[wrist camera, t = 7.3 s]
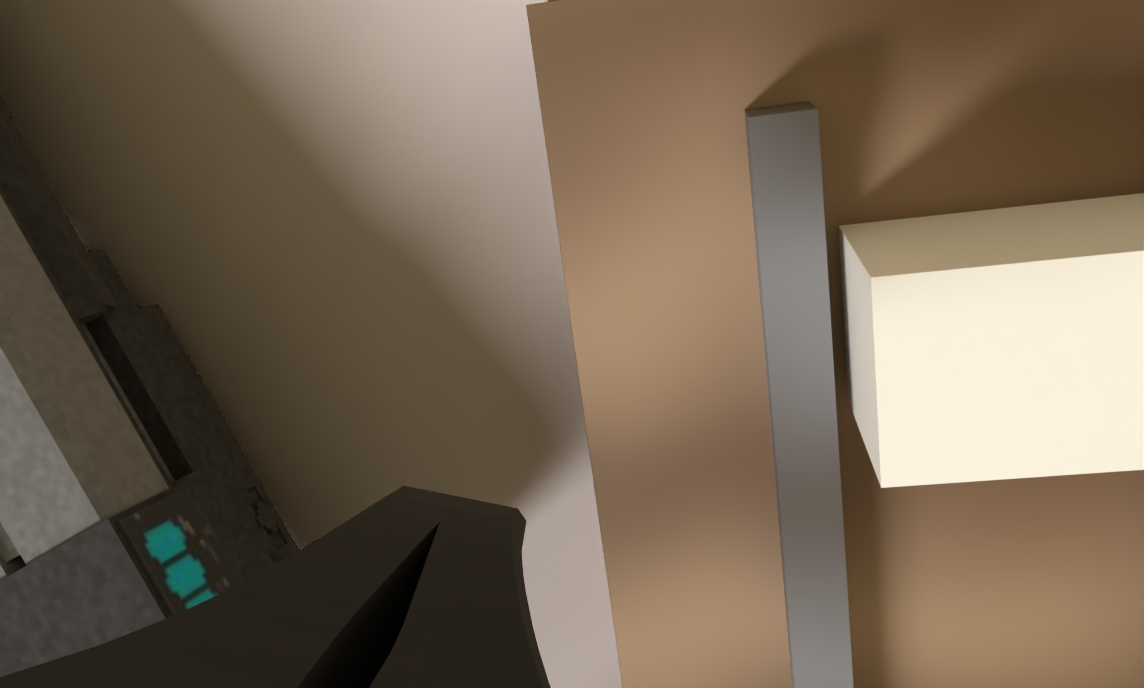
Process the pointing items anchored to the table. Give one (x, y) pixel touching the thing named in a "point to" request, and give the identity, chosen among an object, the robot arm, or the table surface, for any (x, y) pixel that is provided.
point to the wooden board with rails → (822, 332)
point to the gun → (104, 447)
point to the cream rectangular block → (998, 341)
